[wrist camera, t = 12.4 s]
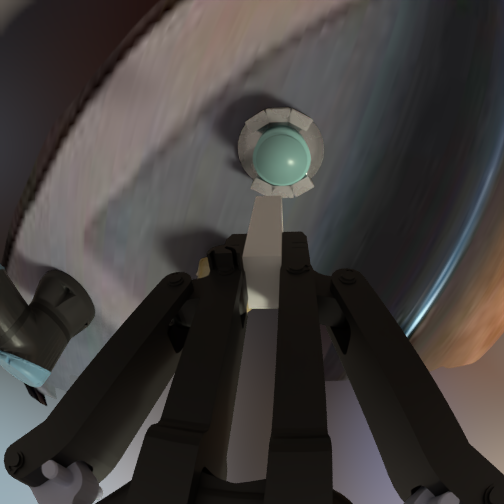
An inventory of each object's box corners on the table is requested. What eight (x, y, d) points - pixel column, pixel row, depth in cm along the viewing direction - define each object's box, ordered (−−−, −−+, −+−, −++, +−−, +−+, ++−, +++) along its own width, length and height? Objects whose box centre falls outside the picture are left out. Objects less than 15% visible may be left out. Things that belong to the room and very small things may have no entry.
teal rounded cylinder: (258, 172, 35) (254, 188, 30) (255, 126, 31) (249, 132, 26) (307, 171, 34) (311, 187, 29) (305, 124, 31) (310, 131, 26)
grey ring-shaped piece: (242, 189, 37) (238, 199, 34) (234, 110, 31) (229, 112, 28) (323, 187, 35) (327, 197, 32) (322, 106, 30) (326, 108, 27)
